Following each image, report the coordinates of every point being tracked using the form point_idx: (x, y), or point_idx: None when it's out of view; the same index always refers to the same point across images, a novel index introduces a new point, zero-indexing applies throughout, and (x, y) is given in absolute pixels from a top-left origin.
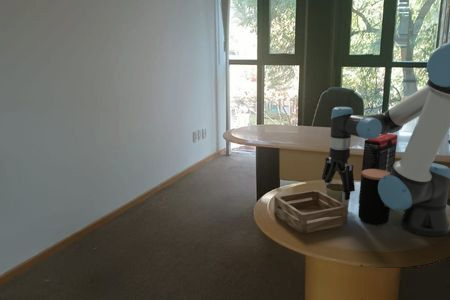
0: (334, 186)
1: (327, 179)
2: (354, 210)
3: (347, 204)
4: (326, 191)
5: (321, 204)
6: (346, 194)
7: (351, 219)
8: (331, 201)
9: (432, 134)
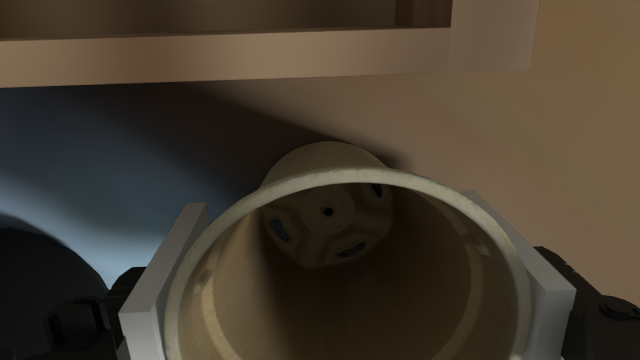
0: (474, 349)
1: (592, 346)
2: None
3: None
4: None
5: (313, 28)
6: (109, 313)
7: (56, 174)
8: (75, 38)
9: None
